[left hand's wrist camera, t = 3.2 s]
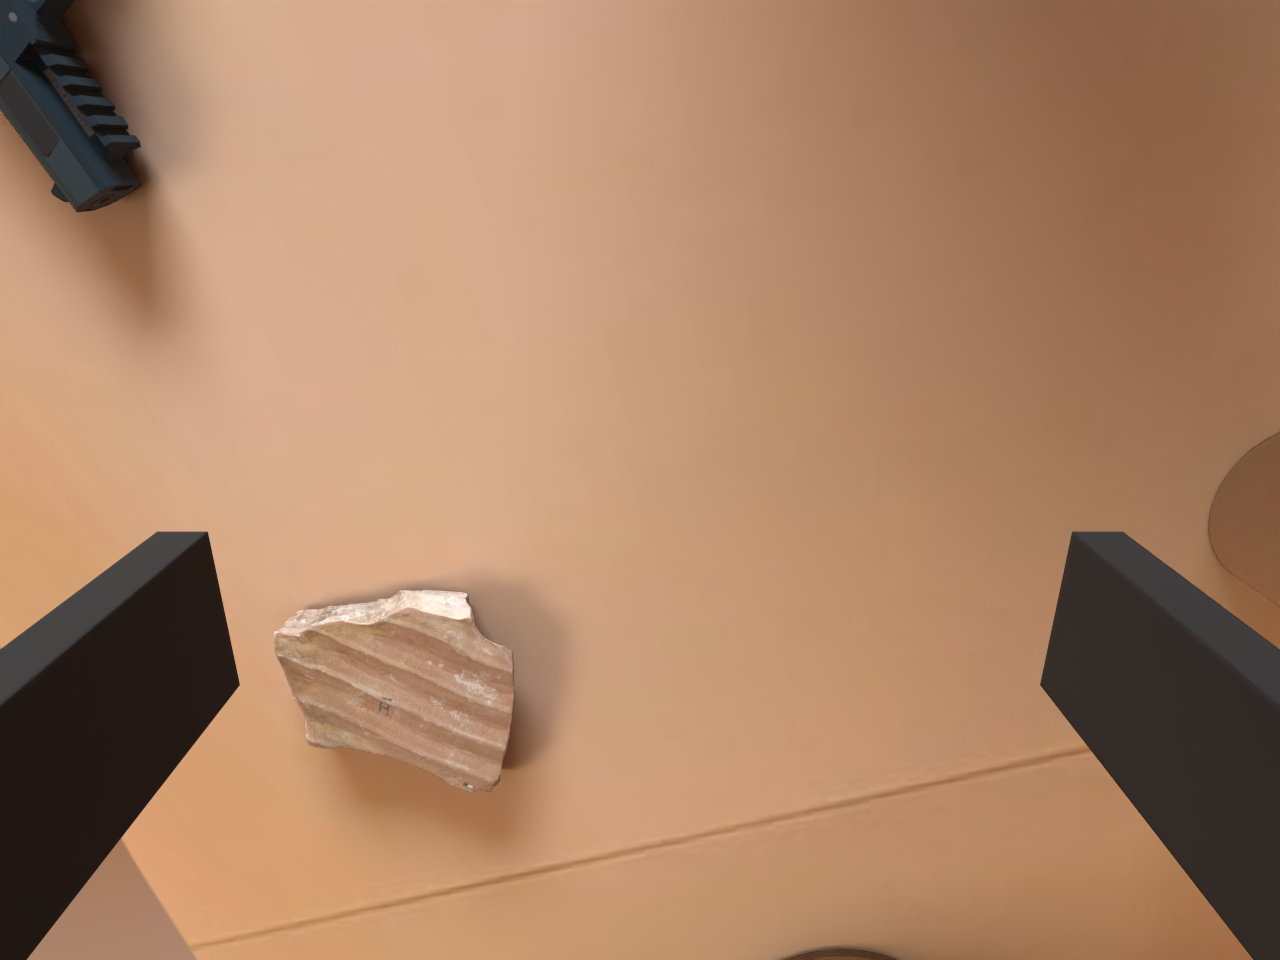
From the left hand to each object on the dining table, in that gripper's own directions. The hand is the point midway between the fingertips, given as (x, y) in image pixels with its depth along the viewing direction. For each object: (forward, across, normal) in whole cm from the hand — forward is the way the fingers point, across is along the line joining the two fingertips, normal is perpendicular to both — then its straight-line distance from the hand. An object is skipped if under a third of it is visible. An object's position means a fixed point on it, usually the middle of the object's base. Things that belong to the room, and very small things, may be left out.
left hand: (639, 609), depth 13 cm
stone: (+28, +13, +21) cm, 37 cm away
